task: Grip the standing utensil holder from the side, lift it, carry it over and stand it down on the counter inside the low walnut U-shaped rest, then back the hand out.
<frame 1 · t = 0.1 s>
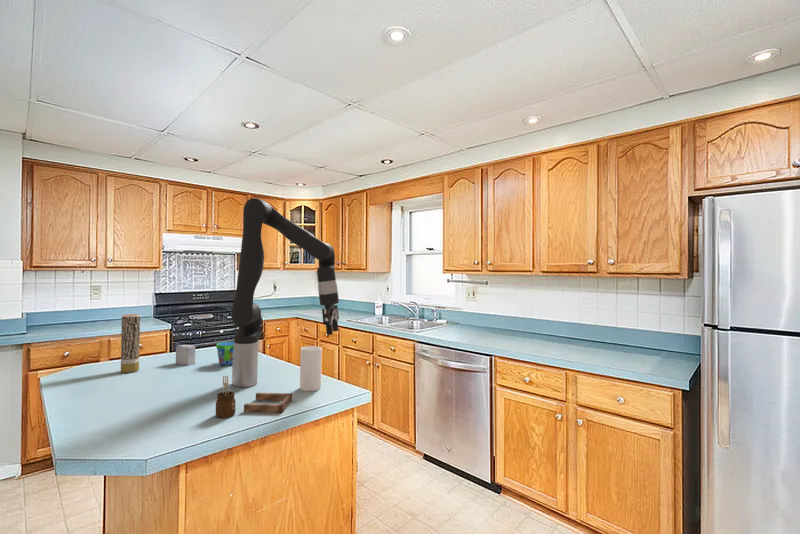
hand: (332, 333, 162), 22 cm above the worktop, tool pointing down, fingers open, 8 cm apart
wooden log: (129, 371, 180), on the worktop
medicine box: (185, 364, 195), on the worktop
utensil holder: (225, 415, 132), on the worktop
cup: (310, 388, 163), on the worktop
snack cup: (227, 364, 196), on the worktop
rest: (269, 405, 141), on the worktop
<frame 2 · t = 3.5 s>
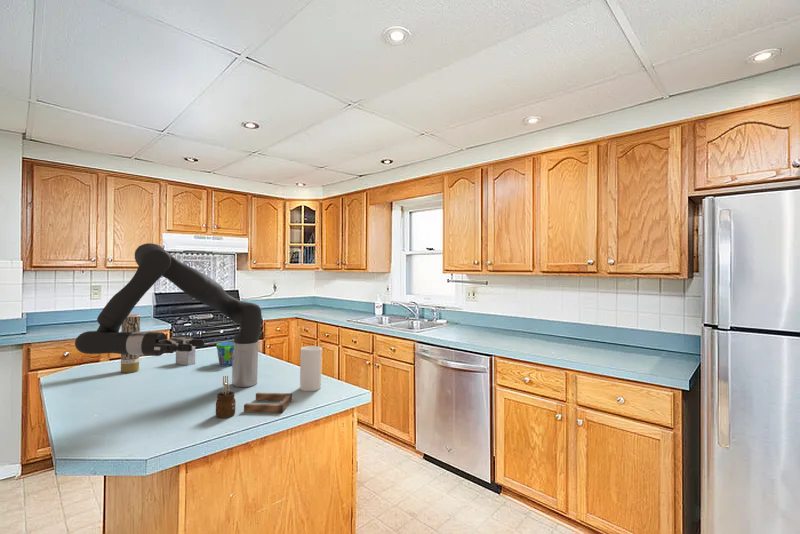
hand: (198, 345, 132), 22 cm above the worktop, tool horizontal, fingers open, 8 cm apart
nothing on the worktop moved.
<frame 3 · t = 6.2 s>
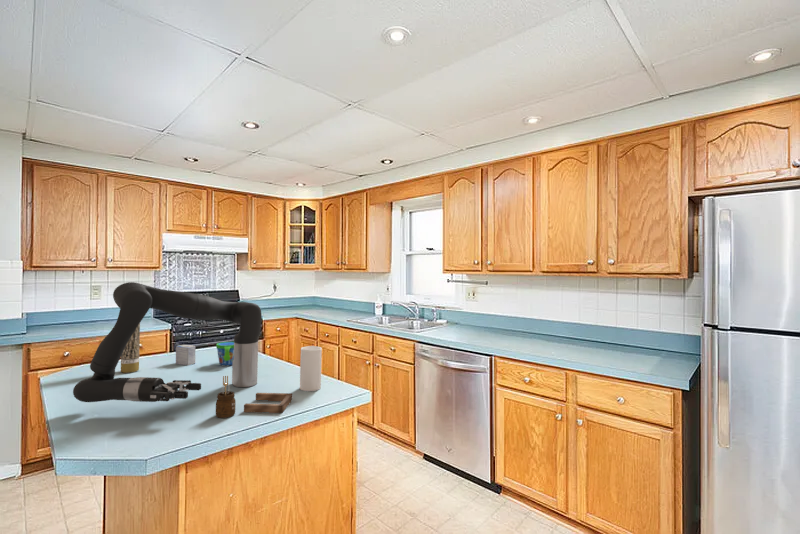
hand: (194, 390, 132), 8 cm above the worktop, tool horizontal, fingers open, 8 cm apart
nothing on the worktop moved.
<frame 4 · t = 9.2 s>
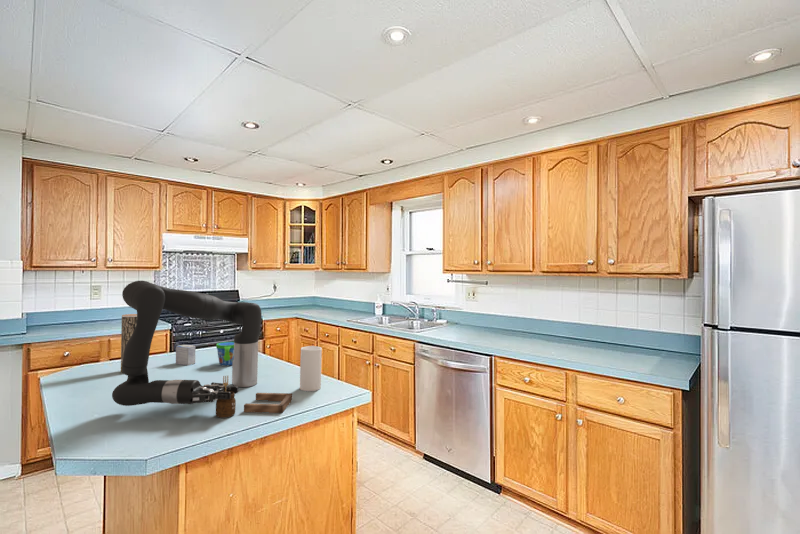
hand: (233, 392, 132), 7 cm above the worktop, tool horizontal, fingers closed on utensil holder, 5 cm apart
utensil holder: (225, 415, 132), on the worktop, touching gripper
everything else where it was.
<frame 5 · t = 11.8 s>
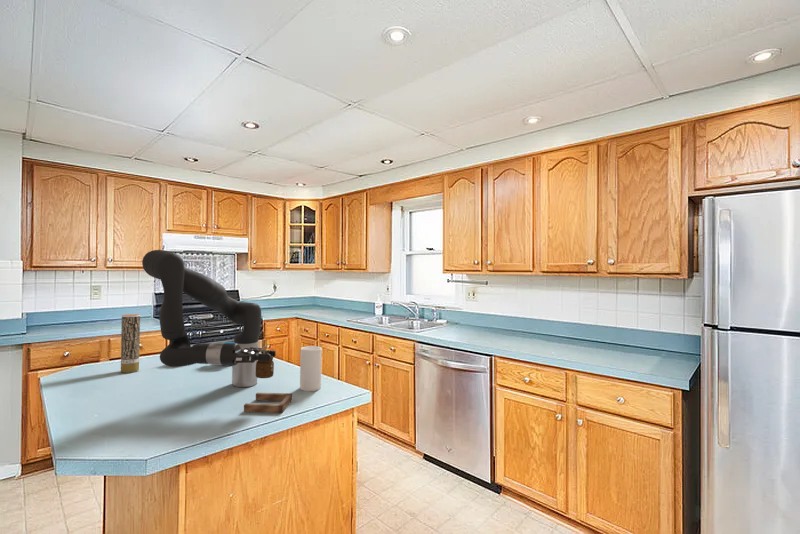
hand: (272, 355, 140), 18 cm above the worktop, tool horizontal, fingers closed on utensil holder, 5 cm apart
utensil holder: (264, 376, 140), point 10 cm above the worktop, touching gripper
everything else where it was.
when the fingers open (7 cm above the worktop, at t = 14.2 s): utensil holder stays where it is, on the worktop.
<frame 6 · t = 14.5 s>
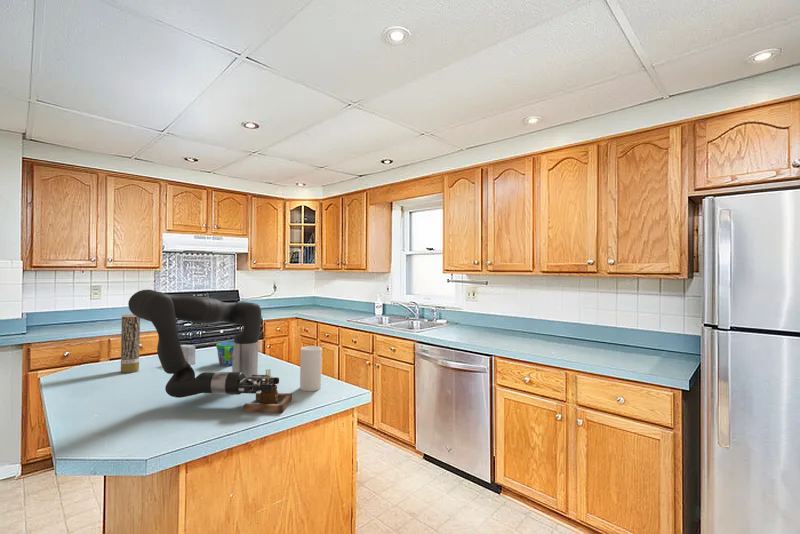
hand: (275, 384, 141), 8 cm above the worktop, tool horizontal, fingers open, 7 cm apart
utensil holder: (268, 406, 141), on the worktop
everything else where it was.
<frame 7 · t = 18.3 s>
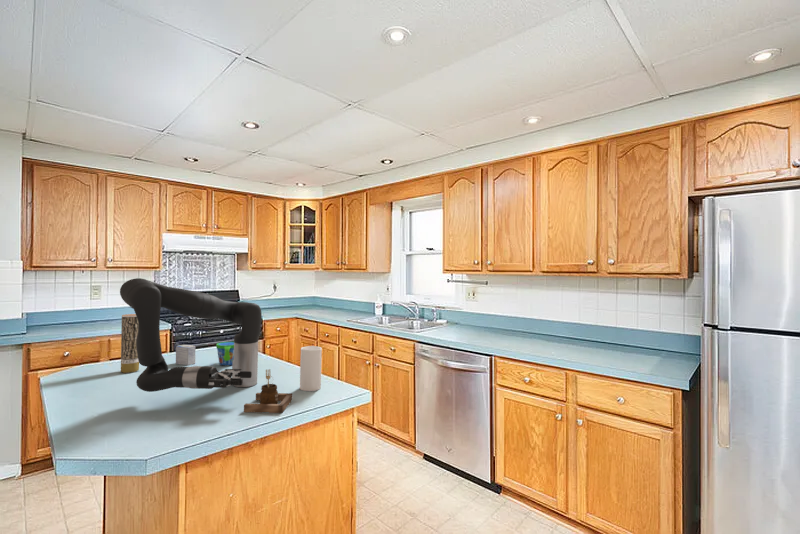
hand: (247, 378, 142), 9 cm above the worktop, tool horizontal, fingers open, 8 cm apart
nothing on the worktop moved.
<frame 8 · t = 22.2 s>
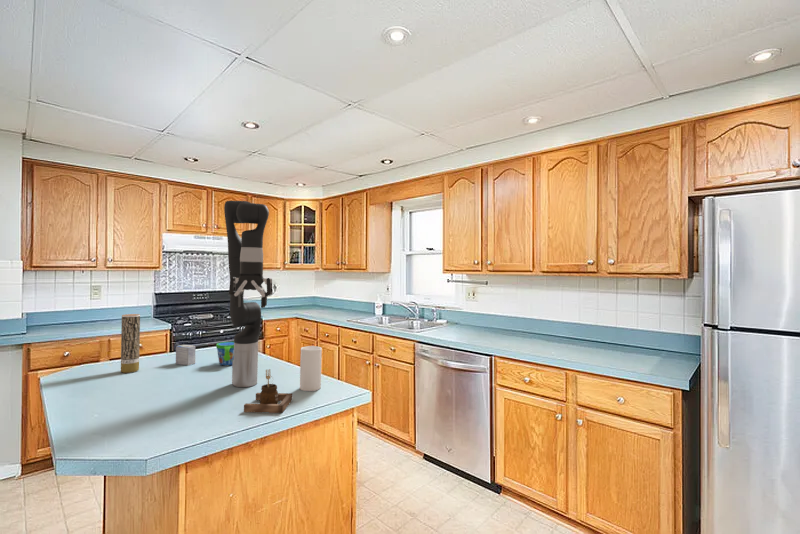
hand: (250, 307, 141), 34 cm above the worktop, tool pointing down, fingers open, 8 cm apart
nothing on the worktop moved.
at the end: utensil holder inside the target area on the rest (0.1 cm from its centre), point 0.0 cm above the rest's base; utensil holder tilted 0°; the gripper is holding nothing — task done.
